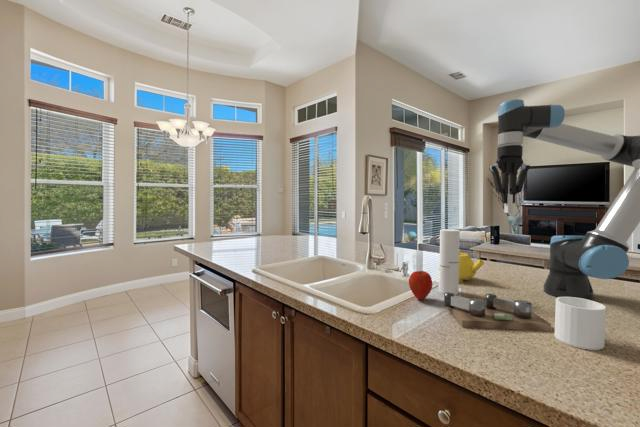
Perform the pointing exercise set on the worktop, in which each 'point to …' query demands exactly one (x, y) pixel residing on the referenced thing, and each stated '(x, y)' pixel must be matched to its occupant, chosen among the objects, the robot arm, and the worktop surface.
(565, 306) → the mug
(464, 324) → the levelling board
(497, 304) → the knob
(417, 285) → the apple
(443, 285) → the cylindrical container
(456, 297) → the knob
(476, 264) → the teapot
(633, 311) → the worktop surface
